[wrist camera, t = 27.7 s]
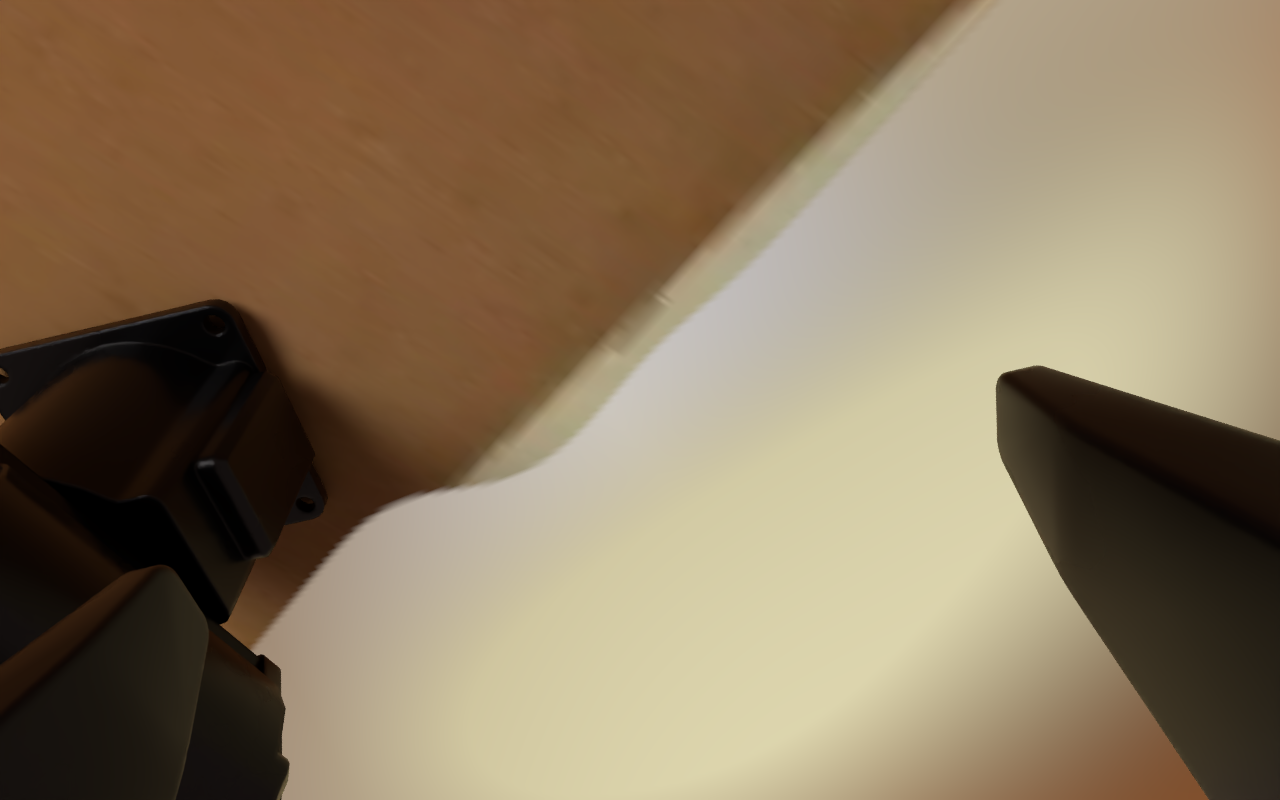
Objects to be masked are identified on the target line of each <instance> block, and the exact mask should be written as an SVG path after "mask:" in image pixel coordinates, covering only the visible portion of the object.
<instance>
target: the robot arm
mask: <svg viewBox="0 0 1280 800" xmlns="http://www.w3.org/2000/svg"><path fill="white" fill-rule="evenodd" d="M209 315H215V316H217V317H219V318H221V319H222V320H223V322H224V323H225V327H224V328H222V327H217V326H214V325H213V324H212V323H211V322H210V321H209ZM0 368H2V369H4V370H5V371H6V372H7V373H8V376H9V377H5V376H3V375H1V374H0V413H1V415H2V416H3V418H4V419H5V422H4V423H3V424H2V425H0V800H281V797H282V794H283V791H284V789H285V786H286V784H287V781H288V774H289V761H288V759H286V758H285V757H284V756H283V755H282V730H283V723H284V715H285V706H284V703H283V700H282V697H281V670H280V668H279V667H278V666H276V665H275V664H274V663H273V662H272V661H270V660H269V659H268V658H267V657H265V656H264V655H258V656H256V655H255V654H254V653H253V652H252V651H250V650H249V649H248V648H247V647H246V646H244V645H243V644H242V643H241V642H240V641H238V640H237V639H236V638H235V637H233V636H232V635H231V634H230V633H229V632H227V631H226V630H225V629H224V628H223V627H221V626H220V624H222V623H225V622H227V621H228V619H229V617H230V615H231V613H232V611H233V608H234V606H235V604H236V602H237V600H238V598H239V595H240V593H241V591H242V589H243V587H244V585H245V582H246V580H247V578H248V576H249V574H250V572H251V569H252V567H253V565H254V563H255V561H256V559H260V558H264V557H268V556H269V555H270V554H271V552H272V550H273V548H274V546H275V545H276V542H277V540H278V538H279V536H280V533H281V531H282V529H283V526H284V525H288V524H292V523H297V522H301V521H306V520H310V519H314V518H316V517H318V516H320V515H321V513H322V512H323V510H324V508H325V505H326V502H327V499H328V497H327V492H326V490H325V488H324V486H323V484H322V482H321V480H320V478H319V476H318V474H317V472H316V470H315V468H314V466H313V464H312V461H313V459H314V457H315V453H314V450H313V448H312V446H311V444H310V442H309V440H308V438H307V436H306V434H305V432H304V430H303V428H302V426H301V423H300V421H299V419H298V417H297V415H296V413H295V411H294V409H293V407H292V405H291V403H290V401H289V399H288V397H287V394H286V392H285V390H284V388H283V386H282V384H281V382H280V380H279V378H278V377H277V376H275V375H274V374H272V373H271V372H269V371H267V369H266V367H265V365H264V363H263V361H262V359H261V357H260V355H259V353H258V351H257V349H256V347H255V345H254V343H253V341H252V339H251V337H250V335H249V333H248V330H247V328H246V326H245V324H244V322H243V320H242V318H241V316H240V314H239V313H238V311H237V310H236V309H235V307H234V306H232V305H231V304H229V303H228V302H226V301H223V300H219V299H215V300H207V301H203V302H198V303H194V304H190V305H186V306H181V307H177V308H173V309H169V310H164V311H160V312H156V313H152V314H147V315H143V316H139V317H135V318H130V319H126V320H122V321H118V322H113V323H109V324H105V325H101V326H96V327H92V328H88V329H84V330H79V331H75V332H71V333H67V334H62V335H58V336H54V337H50V338H45V339H41V340H37V341H33V342H28V343H24V344H20V345H16V346H11V347H7V348H3V349H0ZM996 411H997V442H998V448H999V452H1000V455H1001V459H1002V461H1003V463H1004V466H1005V467H1006V470H1007V472H1008V473H1009V475H1010V477H1011V479H1012V481H1013V483H1014V485H1015V487H1016V489H1017V491H1018V493H1019V495H1020V497H1021V499H1022V501H1023V503H1024V505H1025V507H1026V509H1027V511H1028V513H1029V515H1030V517H1031V519H1032V521H1033V523H1034V525H1035V527H1036V529H1037V531H1038V533H1039V535H1040V537H1041V539H1042V541H1043V543H1044V545H1045V547H1046V549H1047V551H1048V553H1049V555H1050V557H1051V559H1052V561H1053V563H1054V564H1055V566H1056V568H1057V570H1058V572H1059V574H1060V576H1061V577H1062V579H1063V581H1064V582H1065V584H1066V586H1067V587H1068V589H1069V590H1070V592H1071V594H1072V595H1073V597H1074V598H1075V600H1076V601H1077V603H1078V604H1079V606H1080V607H1081V609H1082V610H1083V612H1084V613H1085V615H1086V616H1087V618H1088V619H1089V621H1090V622H1091V624H1092V625H1093V627H1094V628H1095V630H1096V631H1097V633H1098V634H1099V636H1100V637H1101V639H1102V640H1103V642H1104V643H1105V645H1106V646H1107V648H1108V649H1109V651H1110V652H1111V654H1112V655H1113V657H1114V658H1115V660H1116V661H1117V663H1118V664H1119V666H1120V667H1121V669H1122V670H1123V672H1124V673H1125V675H1126V676H1127V678H1128V679H1129V681H1130V682H1131V684H1132V685H1133V687H1134V688H1135V690H1136V691H1137V693H1138V694H1139V696H1140V697H1141V699H1142V700H1143V701H1144V703H1145V704H1146V706H1147V708H1148V709H1149V711H1150V712H1151V714H1152V715H1153V717H1154V718H1155V719H1156V721H1157V723H1158V724H1159V726H1160V727H1161V728H1162V730H1163V732H1164V733H1165V735H1166V736H1167V737H1168V739H1169V741H1170V742H1171V744H1172V745H1173V747H1174V748H1175V750H1176V751H1177V753H1178V754H1179V755H1180V757H1181V758H1182V760H1183V761H1184V763H1185V764H1186V766H1187V767H1188V769H1189V770H1190V772H1191V773H1192V775H1193V776H1194V778H1195V779H1196V781H1197V782H1198V784H1199V785H1200V787H1201V788H1202V790H1203V791H1204V793H1205V794H1206V796H1207V797H1208V799H1209V800H1280V441H1279V440H1276V439H1273V438H1269V437H1266V436H1263V435H1260V434H1257V433H1253V432H1250V431H1247V430H1244V429H1241V428H1237V427H1234V426H1231V425H1228V424H1225V423H1222V422H1218V421H1215V420H1212V419H1209V418H1206V417H1203V416H1199V415H1196V414H1193V413H1190V412H1187V411H1184V410H1180V409H1177V408H1174V407H1171V406H1168V405H1164V404H1161V403H1158V402H1155V401H1151V400H1149V399H1145V398H1142V397H1139V396H1136V395H1133V394H1129V393H1126V392H1123V391H1120V390H1117V389H1113V388H1110V387H1107V386H1104V385H1100V384H1098V383H1095V382H1091V381H1088V380H1085V379H1082V378H1079V377H1075V376H1072V375H1069V374H1066V373H1063V372H1059V371H1056V370H1053V369H1050V368H1047V367H1044V366H1032V367H1027V368H1023V369H1018V370H1014V371H1010V372H1006V373H1003V374H1002V375H1001V376H1000V377H999V378H998V381H997V385H996ZM301 497H308V498H310V499H312V500H313V501H314V503H305V502H303V501H302V500H301V499H300V498H301Z"/></svg>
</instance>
